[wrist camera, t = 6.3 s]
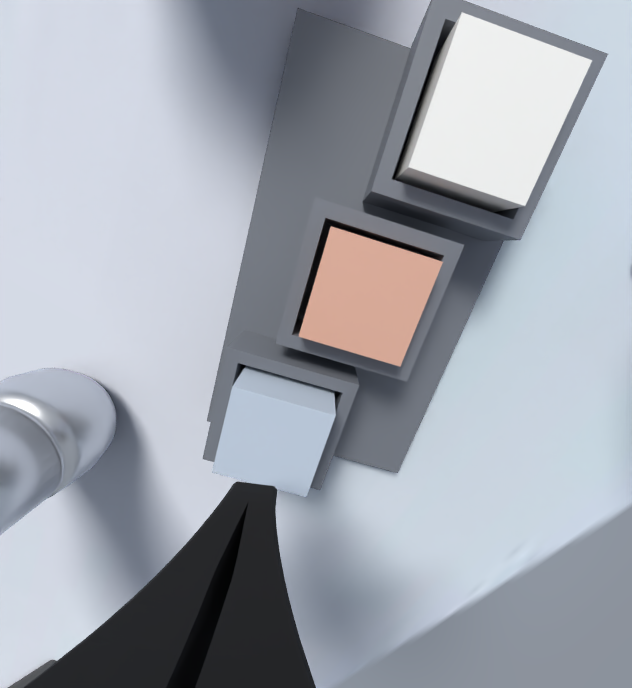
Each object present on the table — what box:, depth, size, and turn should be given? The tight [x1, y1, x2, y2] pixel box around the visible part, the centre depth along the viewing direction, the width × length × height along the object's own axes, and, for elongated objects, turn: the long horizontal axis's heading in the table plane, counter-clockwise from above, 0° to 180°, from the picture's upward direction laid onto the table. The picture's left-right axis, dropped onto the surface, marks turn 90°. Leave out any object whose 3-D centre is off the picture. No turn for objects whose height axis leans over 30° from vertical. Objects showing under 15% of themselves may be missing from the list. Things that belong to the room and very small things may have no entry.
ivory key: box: [394, 12, 592, 213], centre depth 12 cm, size 4×4×2 cm
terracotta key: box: [298, 226, 443, 366], centre depth 14 cm, size 4×4×2 cm
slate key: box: [212, 365, 336, 497], centre depth 15 cm, size 4×4×2 cm
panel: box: [203, 0, 608, 490], centre depth 15 cm, size 12×20×4 cm, turn 163°
